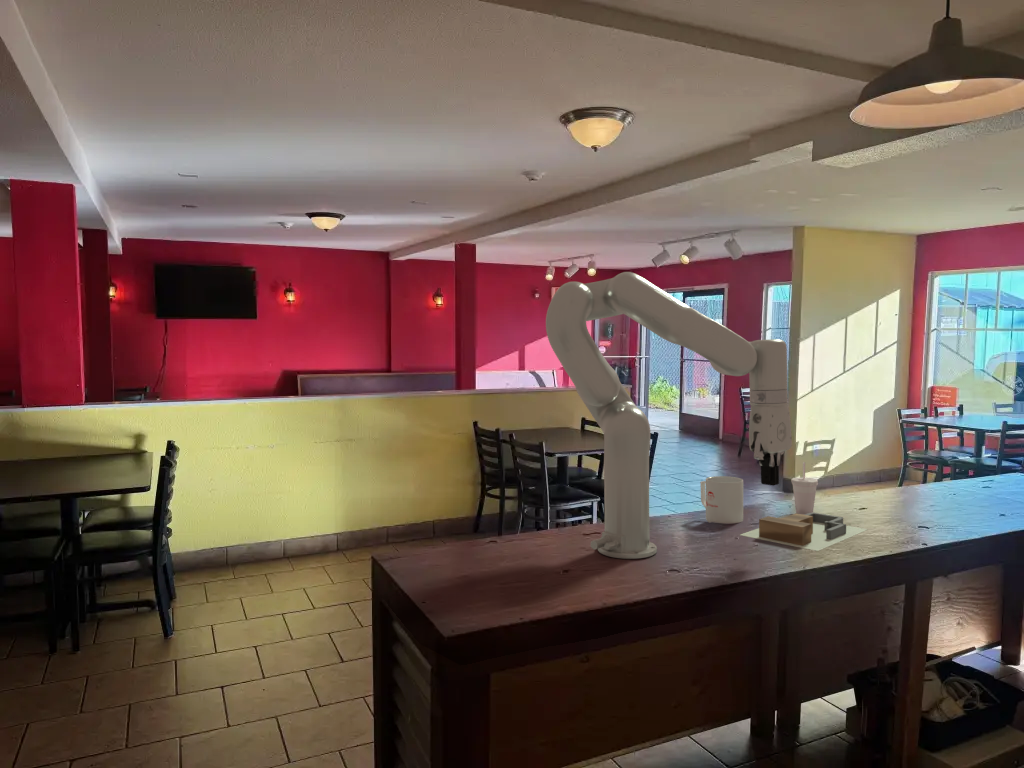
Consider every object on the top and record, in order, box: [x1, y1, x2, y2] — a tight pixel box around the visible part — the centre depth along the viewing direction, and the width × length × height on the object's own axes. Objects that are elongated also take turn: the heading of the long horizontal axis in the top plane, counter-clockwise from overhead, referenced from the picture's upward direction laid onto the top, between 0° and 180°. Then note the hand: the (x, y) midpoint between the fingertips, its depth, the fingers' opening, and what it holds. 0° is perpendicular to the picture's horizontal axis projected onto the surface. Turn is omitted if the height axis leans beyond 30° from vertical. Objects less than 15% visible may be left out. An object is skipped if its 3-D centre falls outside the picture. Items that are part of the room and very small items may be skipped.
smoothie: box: [790, 461, 819, 515], centre depth 180 cm, size 6×6×14 cm
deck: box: [739, 511, 869, 552], centre depth 162 cm, size 25×18×3 cm
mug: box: [700, 475, 744, 525], centre depth 176 cm, size 12×9×11 cm
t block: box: [758, 512, 813, 546], centre depth 158 cm, size 11×10×4 cm
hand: (770, 484), depth 150 cm, fingers closed
